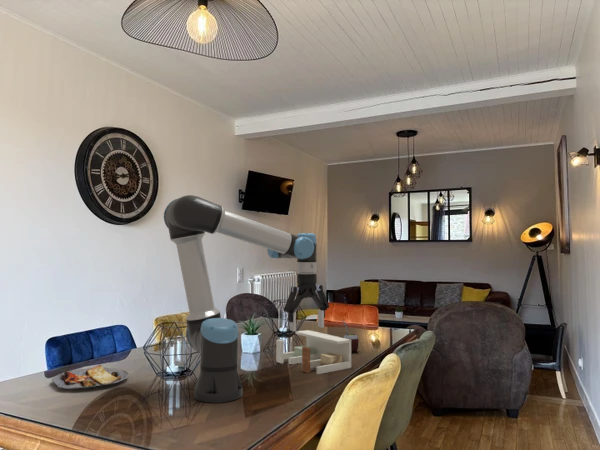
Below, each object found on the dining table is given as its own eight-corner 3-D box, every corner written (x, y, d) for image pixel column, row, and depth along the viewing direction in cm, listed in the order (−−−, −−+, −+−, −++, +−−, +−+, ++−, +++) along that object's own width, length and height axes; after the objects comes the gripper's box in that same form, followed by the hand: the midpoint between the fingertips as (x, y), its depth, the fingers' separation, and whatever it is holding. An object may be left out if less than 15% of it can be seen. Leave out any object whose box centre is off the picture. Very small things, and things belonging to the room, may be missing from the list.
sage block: (282, 364, 188) (283, 341, 188) (274, 362, 193) (274, 339, 193) (313, 359, 198) (314, 337, 198) (305, 356, 202) (305, 335, 203)
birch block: (309, 374, 173) (309, 349, 174) (300, 370, 178) (300, 346, 179) (342, 368, 183) (342, 344, 184) (332, 365, 188) (332, 341, 188)
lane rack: (317, 374, 173) (317, 344, 174) (276, 360, 196) (276, 333, 196) (351, 367, 183) (351, 339, 184) (308, 355, 206) (308, 330, 206)
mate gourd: (358, 351, 215) (358, 318, 216) (358, 354, 207) (358, 320, 208) (342, 350, 216) (342, 318, 217) (342, 354, 208) (342, 320, 209)
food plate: (45, 379, 163) (45, 369, 164) (112, 369, 178) (113, 360, 179) (63, 398, 144) (63, 387, 144) (137, 386, 159) (137, 375, 159)
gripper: (285, 274, 168) (286, 333, 167) (337, 272, 183) (338, 326, 182) (274, 274, 174) (274, 331, 173) (325, 271, 189) (325, 324, 188)
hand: (307, 329), depth 177 cm, fingers open, 13 cm apart
